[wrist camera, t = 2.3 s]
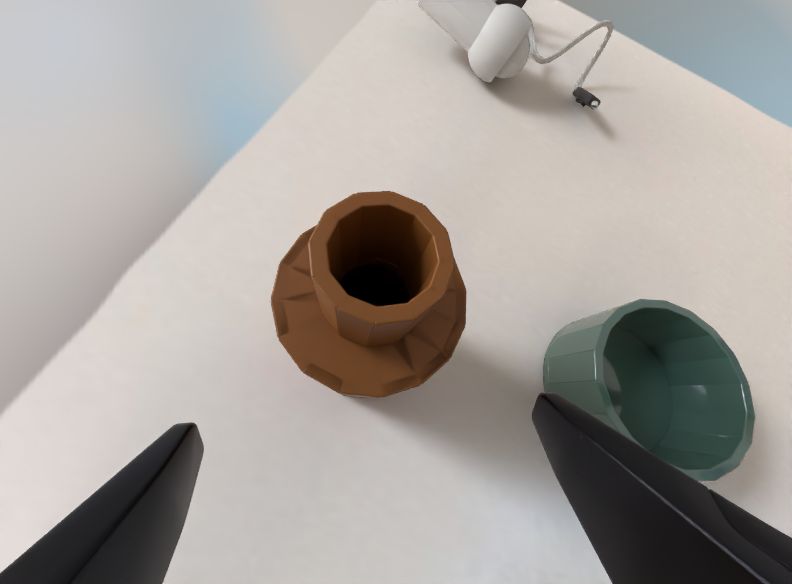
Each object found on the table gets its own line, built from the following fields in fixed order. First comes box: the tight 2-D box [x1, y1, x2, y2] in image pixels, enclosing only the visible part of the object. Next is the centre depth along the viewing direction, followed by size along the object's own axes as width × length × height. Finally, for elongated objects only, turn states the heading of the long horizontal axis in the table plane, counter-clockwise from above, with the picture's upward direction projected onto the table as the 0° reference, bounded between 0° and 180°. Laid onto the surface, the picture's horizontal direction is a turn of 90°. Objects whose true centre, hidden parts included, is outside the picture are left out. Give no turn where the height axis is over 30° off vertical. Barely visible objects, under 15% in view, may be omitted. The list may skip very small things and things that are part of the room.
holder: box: [543, 299, 755, 481], centre depth 18 cm, size 9×9×5 cm
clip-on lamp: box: [417, 0, 613, 109], centre depth 27 cm, size 12×6×18 cm
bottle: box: [271, 191, 466, 398], centre depth 13 cm, size 6×6×13 cm
